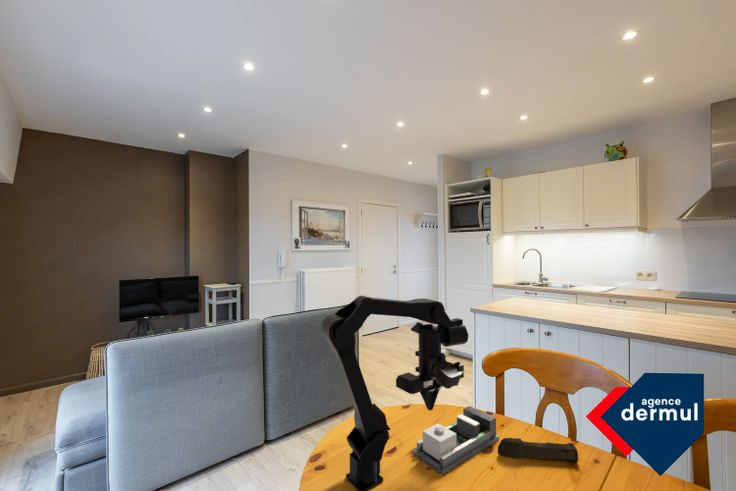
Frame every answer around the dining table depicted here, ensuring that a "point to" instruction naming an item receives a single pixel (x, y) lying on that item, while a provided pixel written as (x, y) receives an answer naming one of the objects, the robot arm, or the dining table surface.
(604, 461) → the dining table surface
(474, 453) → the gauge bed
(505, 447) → the hand tool
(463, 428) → the white flat block
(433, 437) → the knobbed white cube
